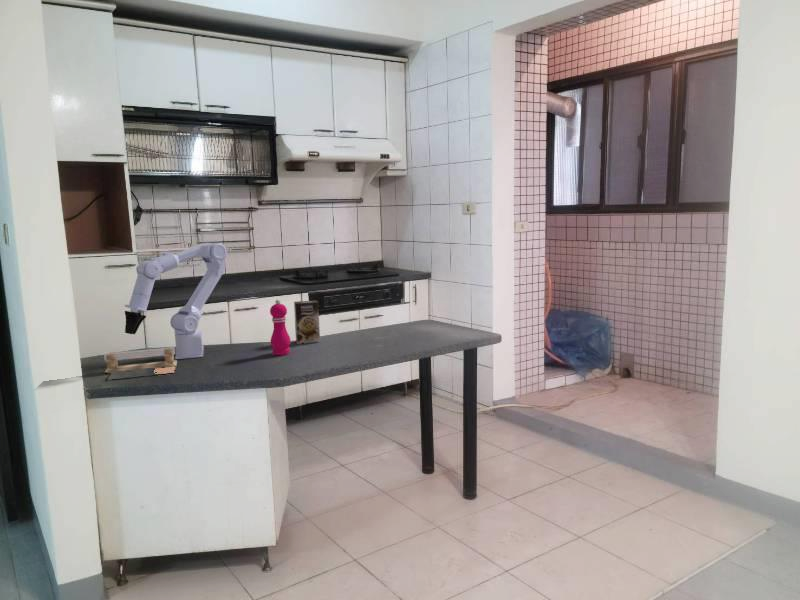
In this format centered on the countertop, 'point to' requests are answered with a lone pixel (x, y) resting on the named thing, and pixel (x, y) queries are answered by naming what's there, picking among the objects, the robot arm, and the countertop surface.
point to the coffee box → (307, 322)
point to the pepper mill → (279, 330)
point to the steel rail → (140, 353)
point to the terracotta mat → (164, 370)
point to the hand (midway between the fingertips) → (130, 333)
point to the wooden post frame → (113, 364)
